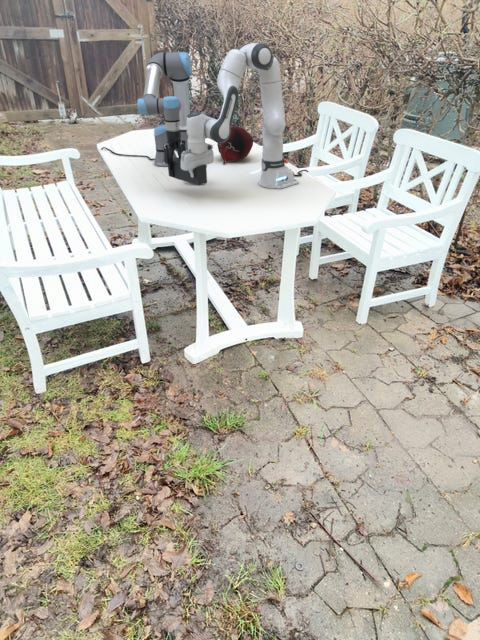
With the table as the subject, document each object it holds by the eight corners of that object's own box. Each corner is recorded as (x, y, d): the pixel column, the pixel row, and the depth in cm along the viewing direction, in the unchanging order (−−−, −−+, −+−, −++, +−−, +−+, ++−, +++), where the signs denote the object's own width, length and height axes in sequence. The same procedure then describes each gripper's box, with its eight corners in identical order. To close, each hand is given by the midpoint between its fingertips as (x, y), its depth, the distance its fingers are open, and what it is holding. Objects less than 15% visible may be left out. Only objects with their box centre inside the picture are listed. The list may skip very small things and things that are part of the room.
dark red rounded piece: (214, 132, 305) (214, 129, 282) (248, 124, 304) (250, 121, 281) (221, 164, 312) (221, 164, 288) (254, 157, 311) (257, 156, 288)
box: (168, 176, 244) (167, 159, 239) (177, 173, 248) (175, 156, 243) (198, 185, 231) (197, 167, 226) (207, 182, 235) (206, 165, 230)
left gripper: (163, 134, 223) (168, 180, 236) (191, 128, 235) (194, 172, 248) (153, 132, 227) (158, 177, 240) (182, 126, 239) (185, 170, 252)
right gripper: (185, 152, 217) (187, 181, 225) (215, 145, 229) (216, 172, 237) (176, 150, 220) (179, 178, 228) (206, 143, 233) (207, 170, 241)
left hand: (177, 175), depth 244 cm, fingers closed on box, 6 cm apart
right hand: (198, 175), depth 233 cm, fingers closed on box, 6 cm apart
